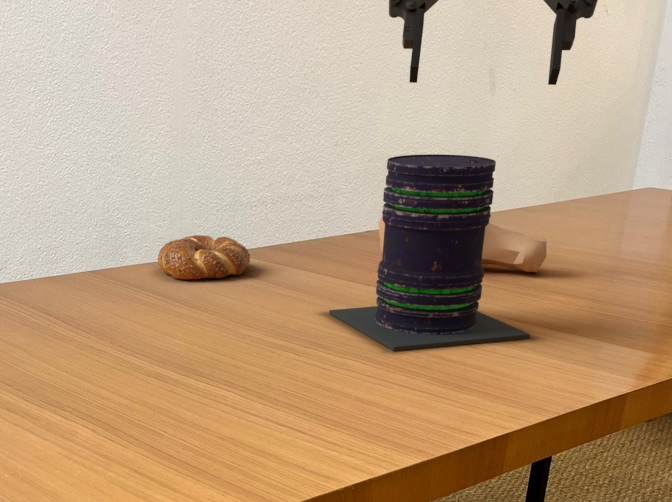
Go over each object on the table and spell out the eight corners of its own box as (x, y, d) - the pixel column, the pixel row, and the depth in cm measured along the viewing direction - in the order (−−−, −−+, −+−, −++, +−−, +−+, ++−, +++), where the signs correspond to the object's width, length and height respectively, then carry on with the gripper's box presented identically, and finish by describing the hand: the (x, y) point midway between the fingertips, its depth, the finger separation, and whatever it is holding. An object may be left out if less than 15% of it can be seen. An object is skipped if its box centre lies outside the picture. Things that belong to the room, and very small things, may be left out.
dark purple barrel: (381, 334, 98) (395, 167, 92) (366, 308, 107) (378, 154, 100) (489, 334, 97) (510, 166, 91) (465, 308, 106) (483, 153, 100)
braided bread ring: (212, 286, 118) (212, 253, 116) (136, 274, 124) (135, 243, 122) (268, 268, 127) (269, 237, 125) (194, 258, 133) (195, 228, 131)
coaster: (529, 338, 98) (530, 334, 98) (393, 351, 94) (393, 346, 94) (452, 303, 110) (452, 300, 110) (329, 313, 107) (329, 310, 106)
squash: (380, 255, 134) (398, 183, 132) (539, 289, 128) (561, 213, 125) (361, 256, 125) (380, 178, 122) (531, 292, 118) (555, 211, 115)
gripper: (623, -89, 109) (607, 99, 106) (380, -84, 115) (358, 94, 112) (640, -145, 102) (623, 55, 99) (380, -137, 108) (356, 52, 104)
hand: (482, 76), depth 105 cm, fingers open, 13 cm apart
